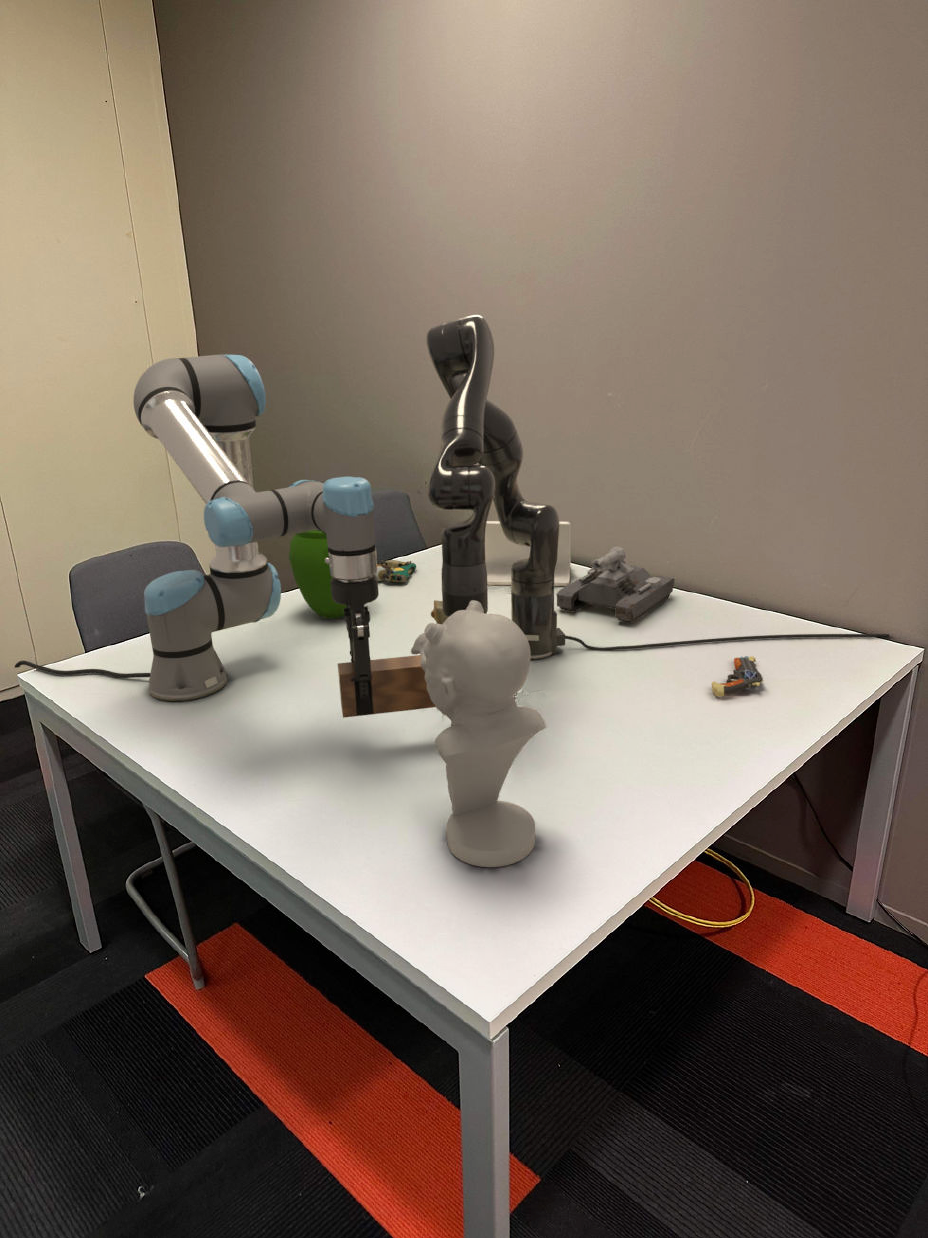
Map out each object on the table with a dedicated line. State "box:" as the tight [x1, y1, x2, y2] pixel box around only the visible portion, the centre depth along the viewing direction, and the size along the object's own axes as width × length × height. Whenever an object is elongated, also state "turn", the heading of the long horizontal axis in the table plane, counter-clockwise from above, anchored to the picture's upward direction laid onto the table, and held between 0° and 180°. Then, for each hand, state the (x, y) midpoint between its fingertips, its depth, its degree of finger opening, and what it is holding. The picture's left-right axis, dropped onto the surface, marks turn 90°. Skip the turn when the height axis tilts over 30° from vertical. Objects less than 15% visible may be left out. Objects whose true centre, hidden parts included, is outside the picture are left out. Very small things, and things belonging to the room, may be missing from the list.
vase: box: [288, 530, 347, 620], centre depth 209 cm, size 20×20×24 cm
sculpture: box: [430, 600, 448, 624], centre depth 177 cm, size 6×7×15 cm
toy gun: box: [711, 655, 765, 698], centre depth 171 cm, size 3×19×10 cm
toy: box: [556, 546, 676, 624], centre depth 212 cm, size 25×20×15 cm
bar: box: [337, 654, 436, 719], centre depth 145 cm, size 25×5×8 cm, turn 101°
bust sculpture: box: [410, 600, 547, 868], centre depth 121 cm, size 16×24×35 cm
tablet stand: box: [485, 520, 572, 587], centre depth 236 cm, size 18×25×17 cm
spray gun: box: [375, 559, 417, 583], centre depth 241 cm, size 4×17×15 cm
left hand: (363, 706), depth 145 cm, fingers closed on bar, 5 cm apart
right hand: (467, 679), depth 147 cm, fingers closed on bar, 4 cm apart
